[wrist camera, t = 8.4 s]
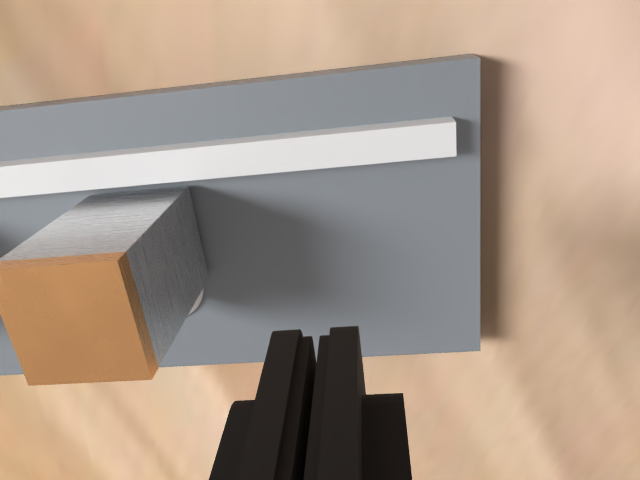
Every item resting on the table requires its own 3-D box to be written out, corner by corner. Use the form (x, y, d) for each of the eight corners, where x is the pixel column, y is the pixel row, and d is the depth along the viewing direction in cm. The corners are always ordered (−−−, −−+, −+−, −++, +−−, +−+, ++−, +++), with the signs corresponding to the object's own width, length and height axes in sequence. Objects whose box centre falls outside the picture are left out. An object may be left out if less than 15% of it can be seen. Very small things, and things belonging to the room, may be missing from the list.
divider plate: (-243, 133, 23) (-494, 188, 16) (472, 53, 20) (528, 80, 13) (-122, 364, 28) (-279, 481, 21) (473, 331, 25) (516, 458, 18)
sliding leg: (90, 194, 21) (-18, 270, 15) (188, 186, 21) (117, 260, 15) (121, 301, 23) (37, 405, 17) (212, 295, 23) (157, 400, 17)
